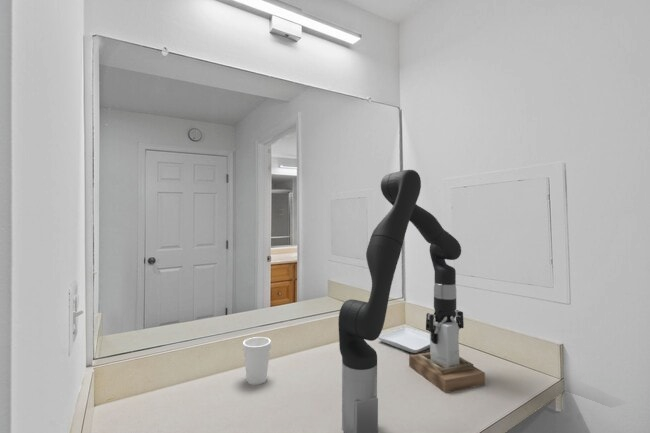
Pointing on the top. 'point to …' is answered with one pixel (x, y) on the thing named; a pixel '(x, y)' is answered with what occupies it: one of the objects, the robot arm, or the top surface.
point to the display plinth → (447, 373)
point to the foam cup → (256, 358)
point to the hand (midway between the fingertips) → (444, 341)
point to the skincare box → (446, 345)
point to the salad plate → (407, 339)
